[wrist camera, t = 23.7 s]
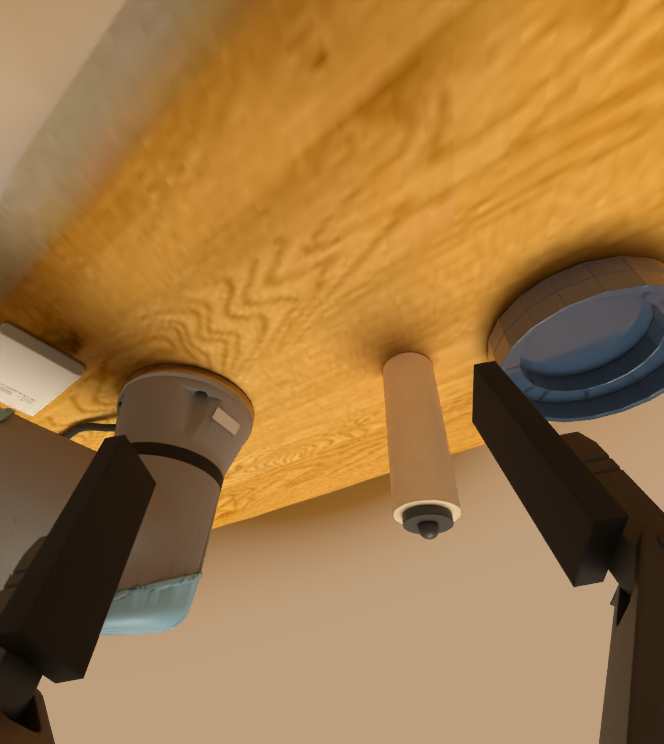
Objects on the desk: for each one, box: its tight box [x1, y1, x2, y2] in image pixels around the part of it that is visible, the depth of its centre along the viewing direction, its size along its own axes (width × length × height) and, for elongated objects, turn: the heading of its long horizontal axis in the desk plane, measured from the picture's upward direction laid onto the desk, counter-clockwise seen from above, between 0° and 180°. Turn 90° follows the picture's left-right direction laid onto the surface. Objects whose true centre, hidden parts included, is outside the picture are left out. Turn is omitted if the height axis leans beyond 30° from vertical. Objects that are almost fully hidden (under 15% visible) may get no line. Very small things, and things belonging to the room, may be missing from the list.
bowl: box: [487, 256, 664, 422], centre depth 34 cm, size 16×16×4 cm
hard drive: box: [0, 322, 86, 416], centre depth 42 cm, size 2×8×12 cm
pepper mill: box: [383, 352, 461, 539], centre depth 35 cm, size 5×5×17 cm
